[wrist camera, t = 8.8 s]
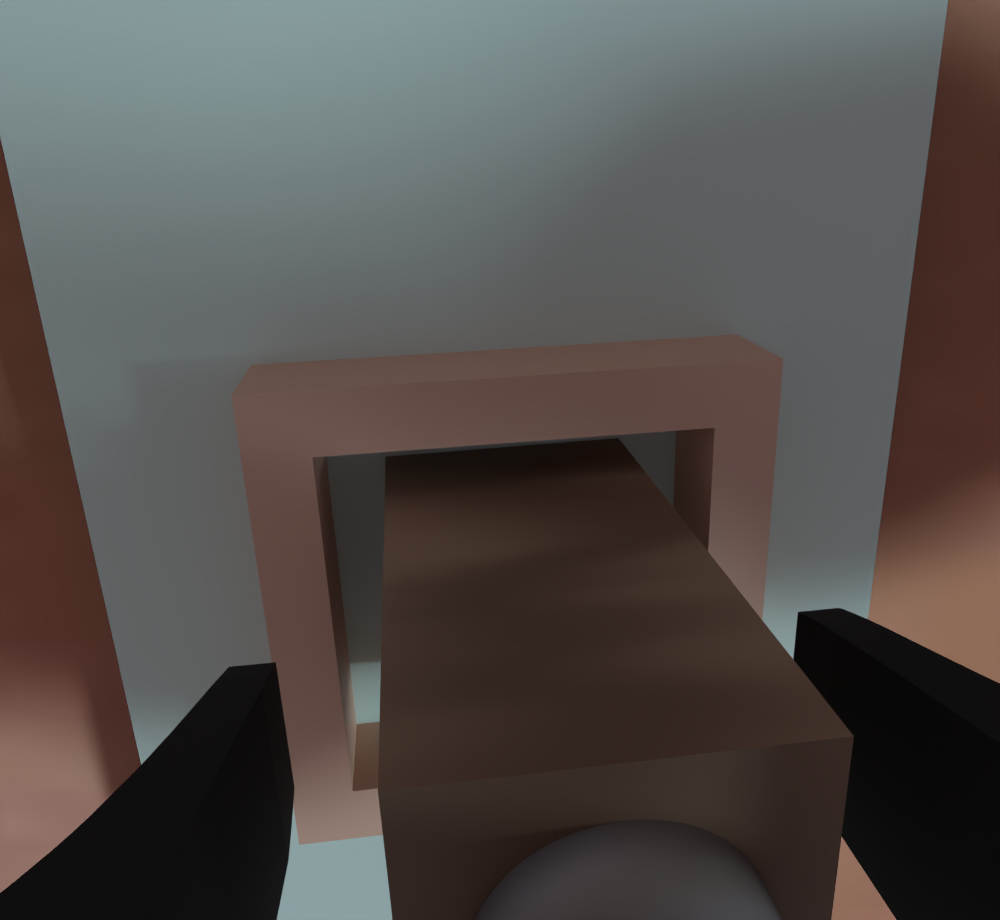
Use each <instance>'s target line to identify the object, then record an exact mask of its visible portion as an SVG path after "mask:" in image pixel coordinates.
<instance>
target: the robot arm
mask: <svg viewBox="0 0 1000 920" xmlns="http://www.w3.org/2000/svg"><path fill="white" fill-rule="evenodd" d="M793 660H794V661H795V662H796V664H797V665H798V666H799V667H800V669H801V670H802V671H803V672H804V674H805V675H806V676H807V677H808V679H809V680H810V681H811V683H812V684H813V685H814V686H815V688H816V689H817V690H818V691H819V693H820V694H821V695H822V696H823V698H824V699H825V700H826V702H827V703H828V704H829V705H830V707H831V708H832V709H833V710H834V712H835V713H836V714H837V715H838V717H839V718H840V719H841V721H842V722H843V723H844V724H845V726H846V727H847V728H848V729H849V731H850V732H851V733H852V734H853V736H854V739H853V747H852V755H851V763H850V771H849V779H848V787H847V795H846V803H845V811H844V819H843V827H842V835H841V836H842V837H843V839H844V840H845V842H846V844H847V845H848V847H849V848H850V850H851V851H852V853H853V854H854V856H855V857H856V859H857V860H858V862H859V863H860V865H861V866H862V868H863V869H864V871H865V872H866V874H867V875H868V877H869V878H870V880H871V881H872V883H873V885H874V886H875V888H876V889H877V891H878V892H879V894H880V895H881V897H882V898H883V900H884V901H885V903H886V904H887V906H888V907H889V909H890V910H891V912H892V913H893V915H894V916H895V918H896V919H897V920H1000V683H997V682H995V681H993V680H991V679H989V678H987V677H985V676H983V675H980V674H978V673H976V672H974V671H972V670H970V669H968V668H966V667H964V666H962V665H960V664H958V663H956V662H954V661H952V660H950V659H948V658H946V657H944V656H942V655H939V654H937V653H935V652H933V651H931V650H929V649H927V648H925V647H923V646H921V645H919V644H917V643H915V642H913V641H911V640H909V639H907V638H905V637H903V636H901V635H899V634H897V633H895V632H893V631H891V630H889V629H887V628H885V627H883V626H881V625H879V624H876V623H874V622H872V621H870V620H868V619H866V618H863V617H861V616H859V615H857V614H854V613H852V612H849V611H847V610H844V609H841V608H832V609H822V610H812V611H801V612H798V616H797V626H796V637H795V647H794V657H793ZM294 788H295V787H294V781H293V774H292V767H291V761H290V754H289V747H288V740H287V734H286V727H285V720H284V714H283V707H282V700H281V694H280V687H279V680H278V674H277V667H276V662H273V663H263V664H252V665H242V666H232V667H228V668H227V669H226V671H225V672H224V673H223V674H222V675H221V676H220V677H219V678H218V679H217V680H216V681H215V683H214V684H213V685H212V686H211V687H210V688H209V689H208V690H207V692H206V693H205V694H204V695H203V696H202V697H201V699H200V700H199V701H198V702H197V703H196V704H195V705H194V707H193V708H192V709H191V710H190V711H189V712H188V714H187V715H186V716H185V717H184V718H183V719H182V720H181V722H180V723H179V724H178V725H177V726H176V727H175V728H174V730H173V731H172V732H171V733H170V734H169V735H168V736H167V737H166V738H165V739H164V741H163V742H162V743H161V744H160V745H159V746H158V747H157V748H156V749H155V750H154V751H153V753H152V754H151V755H150V756H149V757H148V758H147V759H146V760H145V761H144V762H143V763H142V765H141V766H140V767H139V768H138V769H137V770H136V771H135V772H134V773H133V774H132V775H131V776H130V777H129V778H128V779H127V780H126V781H125V782H124V783H123V784H122V785H121V786H120V787H119V788H118V789H117V790H116V791H115V792H114V793H113V794H112V795H111V796H110V797H109V798H108V799H107V800H106V801H105V802H104V803H103V804H102V805H101V806H100V807H99V808H98V809H97V810H96V811H95V812H94V813H93V814H92V815H91V816H90V817H89V818H88V819H87V820H86V821H85V822H83V823H82V824H81V825H80V826H79V827H78V828H77V829H76V830H75V831H74V832H73V833H71V834H70V835H69V836H68V837H67V838H66V839H65V840H63V841H62V842H61V843H60V844H59V845H58V846H57V847H56V848H54V849H53V850H52V851H51V852H50V853H49V854H47V855H46V856H45V857H44V858H43V859H41V860H40V861H39V862H38V863H37V864H35V865H34V866H33V867H32V868H31V869H29V870H28V871H27V872H26V873H25V874H23V875H22V876H21V877H20V878H19V879H17V880H16V881H15V882H14V883H12V884H11V885H10V886H9V887H7V888H6V889H5V890H4V891H2V892H1V893H0V920H277V916H278V911H279V906H280V901H281V896H282V891H283V886H284V881H285V876H286V871H287V866H288V860H289V850H290V839H291V828H292V815H293V801H294Z"/></svg>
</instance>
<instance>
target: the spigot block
mask: <svg viewBox="0 0 1000 920" xmlns="http://www.w3.org/2000/svg"><path fill="white" fill-rule="evenodd" d="M853 739H854V736H853V734H852V733H851V732H850V731H849V729H848V728H847V727H846V726H845V724H844V723H843V722H842V721H841V719H840V718H839V717H838V715H837V714H836V713H835V712H834V710H833V709H832V708H831V707H830V705H829V704H828V703H827V702H826V700H825V699H824V698H823V696H822V695H821V694H820V693H819V691H818V690H817V689H816V688H815V686H814V685H813V684H812V683H811V681H810V680H809V679H808V677H807V676H806V675H805V674H804V672H803V671H802V670H801V669H800V667H799V666H798V665H797V664H796V662H795V661H794V660H793V658H792V657H791V656H790V655H789V653H788V652H787V651H786V650H785V648H784V647H783V646H782V645H781V643H780V642H779V641H778V639H777V638H776V637H775V636H774V634H773V633H772V632H771V631H770V629H769V628H768V627H767V626H766V624H765V623H764V622H763V620H762V619H761V618H760V617H759V615H758V614H757V613H756V612H755V610H754V609H753V608H752V607H751V605H750V604H749V603H748V601H747V600H746V599H745V598H744V596H743V595H742V594H741V593H740V591H739V590H738V589H737V588H736V586H735V585H734V584H733V582H732V581H731V580H730V579H729V577H728V576H727V575H726V574H725V572H724V571H723V570H722V569H721V567H720V566H719V565H718V563H717V562H716V561H715V560H714V558H713V557H712V556H711V555H710V553H709V552H708V551H707V550H706V548H705V547H704V546H703V544H702V543H701V542H700V541H699V539H698V538H697V537H696V536H695V534H694V533H693V532H692V531H691V529H690V528H689V527H688V525H687V524H686V523H685V522H684V520H683V519H682V518H681V517H680V515H679V514H678V513H677V512H676V510H675V509H674V508H673V506H672V505H671V504H670V503H669V501H668V500H667V499H666V498H665V496H664V495H663V494H662V492H661V491H660V490H659V489H658V487H657V486H656V485H655V484H654V482H653V481H652V480H651V479H650V477H649V476H648V475H647V473H646V472H645V471H644V470H643V468H642V467H641V466H640V465H639V463H638V462H637V461H636V460H635V458H634V457H633V456H632V454H631V453H630V452H629V451H628V449H627V448H626V447H625V446H624V444H623V443H622V442H621V441H620V439H619V438H614V439H601V440H588V441H576V442H563V443H550V444H538V445H525V446H512V447H500V448H487V449H475V450H462V451H449V452H437V453H424V454H411V455H399V456H386V463H385V506H384V549H383V593H382V636H381V679H380V723H379V766H378V797H379V806H380V815H381V823H382V832H383V841H384V850H385V858H386V867H387V876H388V885H389V893H390V902H391V911H392V920H831V916H832V908H833V900H834V892H835V884H836V875H837V867H838V859H839V851H840V843H841V835H842V827H843V819H844V811H845V803H846V795H847V787H848V779H849V771H850V763H851V755H852V747H853Z"/></svg>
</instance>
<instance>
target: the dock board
mask: <svg viewBox="0 0 1000 920" xmlns="http://www.w3.org/2000/svg"><path fill="white" fill-rule="evenodd" d="M947 5H948V0H0V138H1V143H2V147H3V152H4V156H5V161H6V165H7V169H8V174H9V178H10V183H11V187H12V192H13V196H14V201H15V205H16V209H17V214H18V218H19V223H20V227H21V232H22V236H23V241H24V245H25V250H26V254H27V258H28V263H29V267H30V272H31V276H32V281H33V285H34V290H35V294H36V299H37V303H38V307H39V312H40V316H41V321H42V325H43V330H44V334H45V339H46V343H47V348H48V352H49V356H50V361H51V365H52V370H53V374H54V379H55V383H56V388H57V392H58V397H59V401H60V405H61V410H62V414H63V419H64V423H65V428H66V432H67V437H68V441H69V446H70V450H71V454H72V459H73V463H74V468H75V472H76V477H77V481H78V486H79V490H80V495H81V499H82V503H83V508H84V512H85V517H86V521H87V526H88V530H89V535H90V539H91V544H92V548H93V552H94V557H95V561H96V566H97V570H98V575H99V579H100V584H101V588H102V593H103V597H104V601H105V606H106V610H107V615H108V619H109V624H110V628H111V633H112V637H113V642H114V646H115V650H116V655H117V659H118V664H119V668H120V673H121V677H122V682H123V686H124V690H125V695H126V699H127V704H128V708H129V713H130V717H131V722H132V726H133V731H134V735H135V739H136V744H137V748H138V753H139V757H140V762H141V765H142V763H143V762H144V761H145V760H146V759H147V758H148V757H149V756H150V755H151V754H152V753H153V751H154V750H155V749H156V748H157V747H158V746H159V745H160V744H161V743H162V742H163V741H164V739H165V738H166V737H167V736H168V735H169V734H170V733H171V732H172V731H173V730H174V728H175V727H176V726H177V725H178V724H179V723H180V722H181V720H182V719H183V718H184V717H185V716H186V715H187V714H188V712H189V711H190V710H191V709H192V708H193V707H194V705H195V704H196V703H197V702H198V701H199V700H200V699H201V697H202V696H203V695H204V694H205V693H206V692H207V690H208V689H209V688H210V687H211V686H212V685H213V684H214V683H215V681H216V680H217V679H218V678H219V677H220V676H221V675H222V674H223V673H224V672H225V671H226V669H227V668H228V667H232V666H242V665H252V664H263V663H273V662H276V667H277V674H278V680H279V687H280V694H281V700H282V707H283V714H284V720H285V727H286V734H287V740H288V747H289V754H290V761H291V767H292V774H293V781H294V787H295V788H294V801H293V815H292V828H291V839H290V850H289V860H288V866H287V871H286V876H285V881H284V886H283V891H282V896H281V901H280V906H279V911H278V916H277V920H392V911H391V902H390V893H389V885H388V876H387V867H386V858H385V850H384V841H383V832H382V823H381V815H380V806H379V797H378V766H379V723H380V679H381V636H382V593H383V549H384V506H385V463H386V456H399V455H411V454H424V453H437V452H449V451H462V450H475V449H487V448H500V447H512V446H525V445H538V444H550V443H563V442H576V441H588V440H601V439H614V438H619V439H620V441H621V442H622V443H623V444H624V446H625V447H626V448H627V449H628V451H629V452H630V453H631V454H632V456H633V457H634V458H635V460H636V461H637V462H638V463H639V465H640V466H641V467H642V468H643V470H644V471H645V472H646V473H647V475H648V476H649V477H650V479H651V480H652V481H653V482H654V484H655V485H656V486H657V487H658V489H659V490H660V491H661V492H662V494H663V495H664V496H665V498H666V499H667V500H668V501H669V503H670V504H671V505H672V506H673V508H674V509H675V510H676V512H677V513H678V514H679V515H680V517H681V518H682V519H683V520H684V522H685V523H686V524H687V525H688V527H689V528H690V529H691V531H692V532H693V533H694V534H695V536H696V537H697V538H698V539H699V541H700V542H701V543H702V544H703V546H704V547H705V548H706V550H707V551H708V552H709V553H710V555H711V556H712V557H713V558H714V560H715V561H716V562H717V563H718V565H719V566H720V567H721V569H722V570H723V571H724V572H725V574H726V575H727V576H728V577H729V579H730V580H731V581H732V582H733V584H734V585H735V586H736V588H737V589H738V590H739V591H740V593H741V594H742V595H743V596H744V598H745V599H746V600H747V601H748V603H749V604H750V605H751V607H752V608H753V609H754V610H755V612H756V613H757V614H758V615H759V617H760V618H761V619H762V620H763V622H764V623H765V624H766V626H767V627H768V628H769V629H770V631H771V632H772V633H773V634H774V636H775V637H776V638H777V639H778V641H779V642H780V643H781V645H782V646H783V647H784V648H785V650H786V651H787V652H788V653H789V655H790V656H791V657H792V658H793V657H794V647H795V637H796V626H797V616H798V612H801V611H812V610H822V609H832V608H841V609H844V610H847V611H849V612H852V613H854V614H857V615H859V616H861V617H863V618H866V619H868V613H869V606H870V598H871V590H872V583H873V575H874V567H875V559H876V552H877V544H878V536H879V529H880V521H881V513H882V505H883V498H884V490H885V482H886V475H887V467H888V459H889V452H890V444H891V436H892V428H893V421H894V413H895V405H896V398H897V390H898V382H899V374H900V367H901V359H902V351H903V344H904V336H905V328H906V321H907V313H908V305H909V297H910V290H911V282H912V274H913V267H914V259H915V251H916V243H917V236H918V228H919V220H920V213H921V205H922V197H923V190H924V182H925V174H926V166H927V159H928V151H929V143H930V136H931V128H932V120H933V113H934V105H935V97H936V89H937V82H938V74H939V66H940V59H941V51H942V43H943V35H944V28H945V20H946V12H947Z"/></svg>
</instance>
